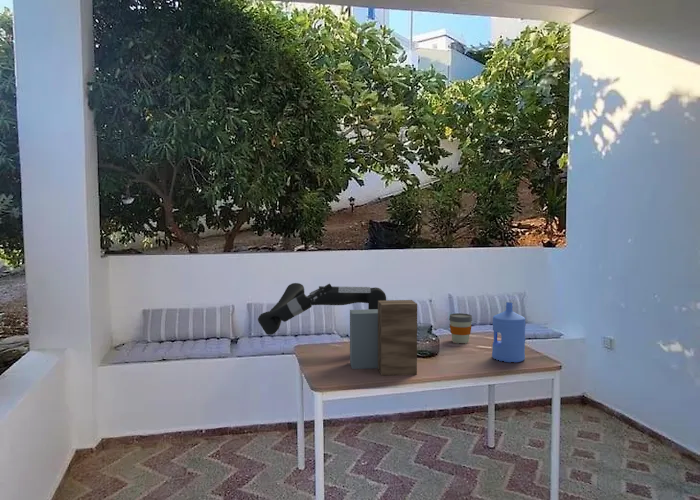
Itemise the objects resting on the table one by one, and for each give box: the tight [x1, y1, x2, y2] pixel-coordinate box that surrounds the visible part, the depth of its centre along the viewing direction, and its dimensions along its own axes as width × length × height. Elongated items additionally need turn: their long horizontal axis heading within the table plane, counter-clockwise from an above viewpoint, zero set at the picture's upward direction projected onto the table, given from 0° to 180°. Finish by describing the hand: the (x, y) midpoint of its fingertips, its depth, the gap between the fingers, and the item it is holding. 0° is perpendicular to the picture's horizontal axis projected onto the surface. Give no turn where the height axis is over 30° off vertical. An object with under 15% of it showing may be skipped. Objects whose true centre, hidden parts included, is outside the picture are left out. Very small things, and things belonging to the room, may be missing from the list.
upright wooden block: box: [377, 299, 418, 377], centre depth 239 cm, size 11×16×32 cm
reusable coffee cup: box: [449, 312, 473, 344], centre depth 295 cm, size 12×13×15 cm
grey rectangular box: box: [349, 308, 378, 370], centre depth 249 cm, size 10×20×26 cm, turn 96°
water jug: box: [491, 301, 526, 363], centre depth 260 cm, size 16×16×28 cm
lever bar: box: [318, 285, 372, 293], centre depth 245 cm, size 3×24×2 cm, turn 96°
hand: (331, 285), depth 244 cm, fingers closed on lever bar, 3 cm apart
